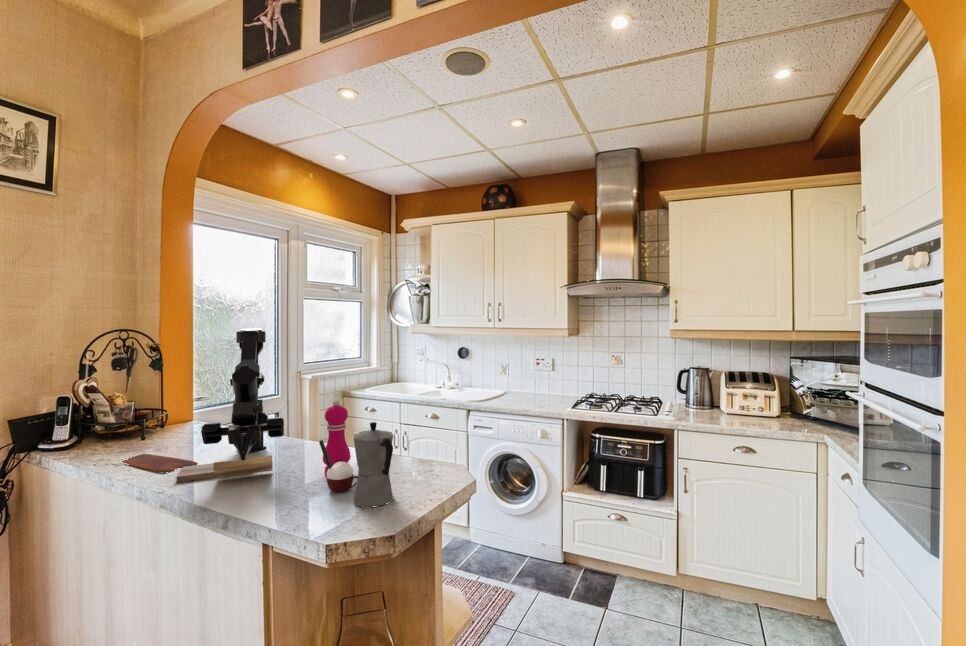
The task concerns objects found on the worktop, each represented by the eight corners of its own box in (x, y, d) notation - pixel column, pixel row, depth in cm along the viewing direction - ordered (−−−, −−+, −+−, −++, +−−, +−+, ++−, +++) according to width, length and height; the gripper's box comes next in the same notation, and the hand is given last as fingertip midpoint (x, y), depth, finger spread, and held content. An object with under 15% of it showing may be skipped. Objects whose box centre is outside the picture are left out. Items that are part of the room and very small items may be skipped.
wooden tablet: (200, 466, 130) (200, 460, 130) (163, 476, 121) (163, 470, 121) (147, 454, 141) (147, 449, 141) (110, 463, 132) (110, 458, 132)
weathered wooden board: (183, 472, 122) (183, 466, 122) (255, 463, 129) (255, 458, 129) (176, 482, 114) (176, 476, 114) (254, 472, 122) (254, 466, 122)
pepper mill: (356, 470, 123) (355, 398, 123) (337, 479, 116) (337, 403, 116) (336, 467, 126) (335, 397, 126) (316, 475, 119) (316, 401, 119)
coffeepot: (342, 496, 105) (342, 420, 104) (379, 487, 110) (379, 414, 110) (371, 518, 93) (370, 432, 93) (410, 506, 98) (410, 426, 98)
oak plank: (217, 477, 116) (218, 471, 117) (272, 470, 122) (272, 464, 123) (213, 469, 108) (213, 462, 109) (272, 461, 114) (272, 455, 115)
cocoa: (361, 489, 110) (364, 441, 110) (344, 498, 104) (347, 446, 104) (331, 482, 114) (334, 435, 114) (313, 490, 108) (316, 441, 108)
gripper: (202, 391, 111) (194, 447, 101) (283, 387, 119) (284, 437, 109) (206, 417, 118) (200, 471, 108) (283, 411, 126) (284, 460, 116)
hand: (243, 459), depth 110 cm, fingers closed
